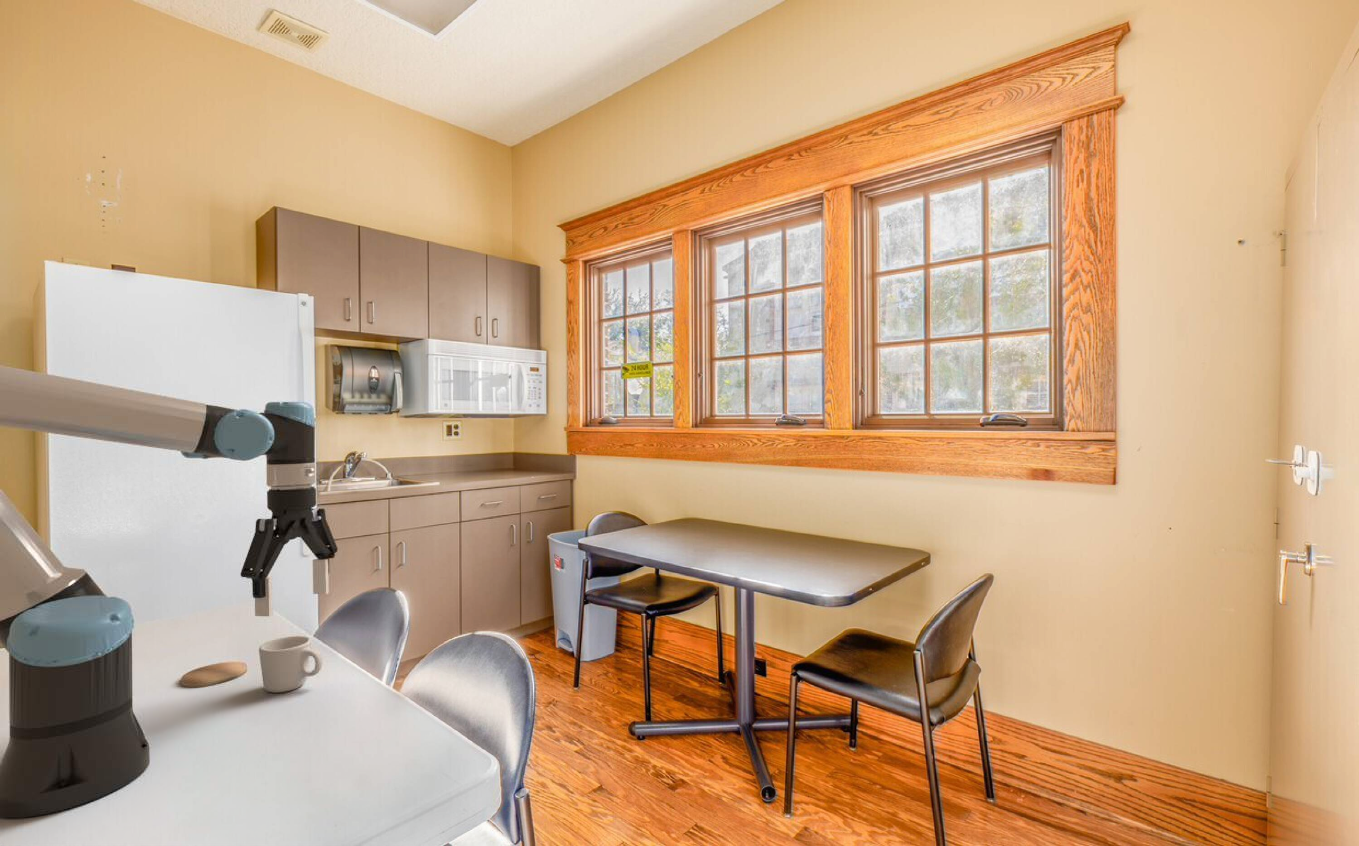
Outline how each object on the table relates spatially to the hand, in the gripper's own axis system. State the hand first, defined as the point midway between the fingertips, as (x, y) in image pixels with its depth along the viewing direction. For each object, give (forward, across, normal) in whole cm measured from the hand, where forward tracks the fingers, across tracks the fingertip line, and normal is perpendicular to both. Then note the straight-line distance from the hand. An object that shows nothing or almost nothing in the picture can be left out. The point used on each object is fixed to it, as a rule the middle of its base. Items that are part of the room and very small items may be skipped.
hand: (294, 604), depth 112 cm
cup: (+15, 0, 0) cm, 15 cm away
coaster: (+15, +3, +19) cm, 25 cm away
